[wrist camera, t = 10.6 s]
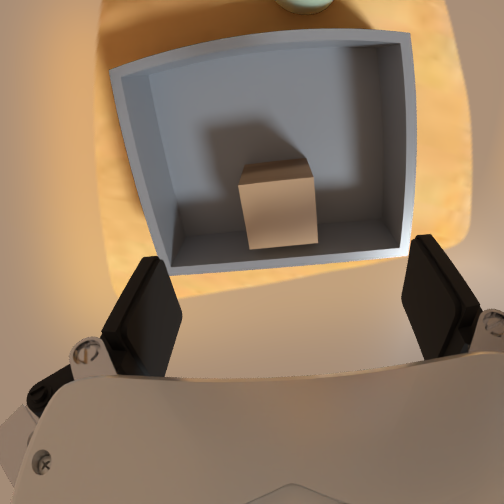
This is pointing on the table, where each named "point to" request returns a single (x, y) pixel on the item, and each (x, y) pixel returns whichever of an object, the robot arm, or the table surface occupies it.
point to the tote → (273, 142)
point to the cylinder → (304, 6)
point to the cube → (279, 203)
